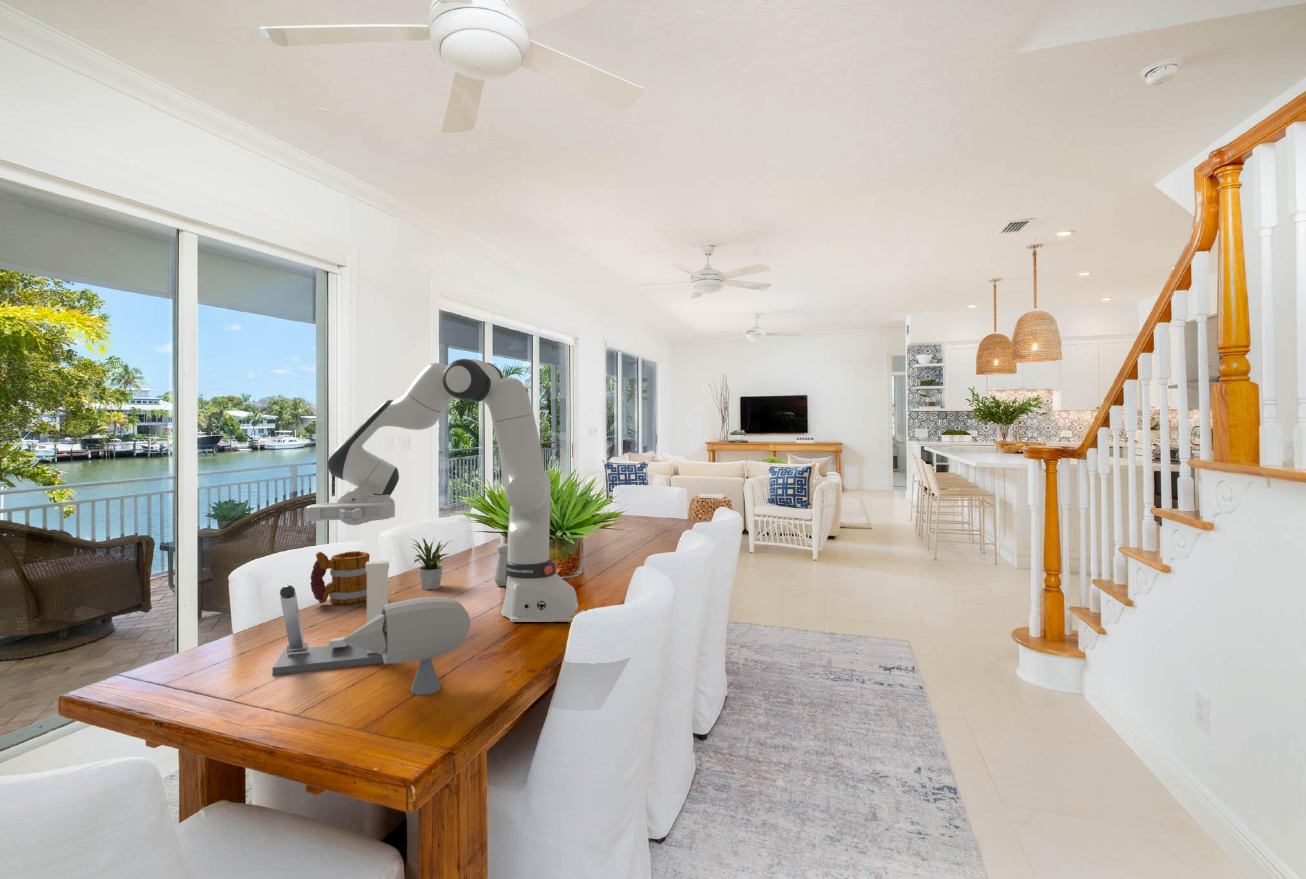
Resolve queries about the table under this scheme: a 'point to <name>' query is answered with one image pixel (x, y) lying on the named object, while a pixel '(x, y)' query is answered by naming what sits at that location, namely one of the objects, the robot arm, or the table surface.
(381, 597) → the beige rectangular bar
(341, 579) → the mug
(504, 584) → the salt shaker
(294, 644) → the steel toggle lever
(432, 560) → the house plant
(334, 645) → the block
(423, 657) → the jet engine
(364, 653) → the console
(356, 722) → the table surface
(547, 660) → the table surface
